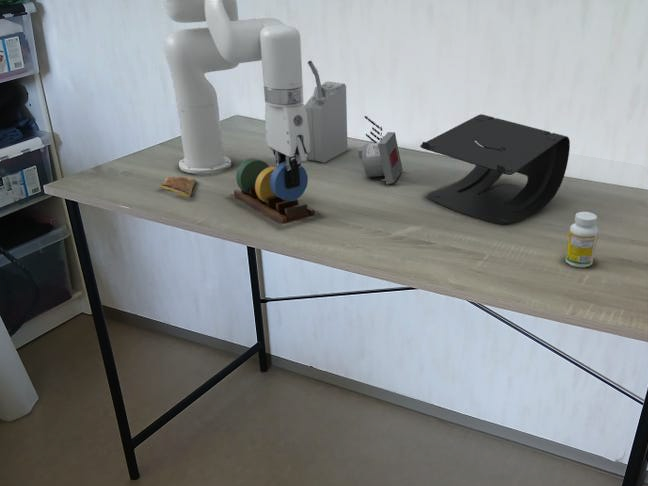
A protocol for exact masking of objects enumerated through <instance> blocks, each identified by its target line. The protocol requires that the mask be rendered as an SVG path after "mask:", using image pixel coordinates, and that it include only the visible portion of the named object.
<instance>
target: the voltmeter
mask: <svg viewBox="0 0 648 486" xmlns="http://www.w3.org/2000/svg"><path fill="white" fill-rule="evenodd" d="M364 119H366V120H367V121H368V122H369V123H371V124H372V125H373V126H372V127H371V130H372V131H374V132H375V133H376V134H377V135H379V136H380V137H379V136H377V135H376V134H375V133H374V132H372V131H370V135H371V136H373V137H374V138H375V139H376V140H378V141H376V140H374V138H372V137H371V136H370V135H368V134H367V133H365V136H366V138H368V139H370V141H371V142H372V143H365V144H363V146H362V147H360V148H359V150H358V151H357V153H358V158H359V159H361V160H362V165H363V169H364V172H365V174H366V176H367V177H368V178H374V177H375V178H377V177H381V176H382V177H383V176H384V179H380V181H381V182H385V185H387V186H388V185H390V184H393V183H395V182H396V180H397V179H398V178H399V176H400V175H401V173H402V172H403V166H402V160H401V155H400V150H399V145H398V141H397V135H396V132H395V131H394V132H393V131H388V132H386V134H385V135H383V133H382V132H383V128H382V126H379V124H377V123H375V121H373V120H372V119H370V118H369V117H368V116H367V115H364ZM374 126H375V127H376V128H377V129H379V130H380V131H381V132H380V131H379V130H377V129H376V128H374Z"/></svg>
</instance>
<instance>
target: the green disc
mask: <svg viewBox="0 0 648 486" xmlns="http://www.w3.org/2000/svg"><path fill="white" fill-rule="evenodd" d="M268 167H270V165H269V164H268V163H267V162H266V161H263V160H261V159H259V158H257V157H251V158H247V159H245V160H244V161H243V162H242V163H240V165H239V166H238V168H237V171H236V175H235V178H236V179H235V180H236V184H237V187H238V188H239V190H240V191H241V190H242V191H244V192H245V193H247V194H249V191H248V188H250V187H254V186H255V183H256V179H257V177H258V175H259V174H260V173H261V172H262V171H263V170H264V169H266V168H268Z"/></svg>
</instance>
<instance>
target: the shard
mask: <svg viewBox="0 0 648 486" xmlns="http://www.w3.org/2000/svg"><path fill="white" fill-rule="evenodd" d="M195 184H196V179H195V178H192V177H187V176H174V177H173V176H168V177H166V178H165V180H164V181H163V182H162V183H161V184H159V188H160V189H163V190H167V191H170V192H172V193H175V194H179V195H181V196H185V197H191V198H192V191H193V189H194V185H195Z"/></svg>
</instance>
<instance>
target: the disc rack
mask: <svg viewBox="0 0 648 486" xmlns="http://www.w3.org/2000/svg"><path fill="white" fill-rule="evenodd" d="M248 191H249V194H247V193H245V192H244V191H242V190H241V189H234V190H233V193H231V194H229V196H230V197H232V198H233V199H235V200H237V201H239V202H240V203H242V204H243V205H245V206H247V207H249V208H251V209H252V210H254V211H256V212H257V213H259V214H261V215H262V216H264V217H266V218H267V219H269V220H271V221H273V222H274V223H275V224H278V225H279V226H281V225H285V224H290V223H293V222H297V221H299V220H304V219H307V218H310V217H314V216H315V217H316V216H319V215H321V213H320V212H318V211H316V209H314V208H313V207H311V206H309V205H308V204H307V203H306V202H301V201H300V200H299V198H298V199H296V200H293V201H285V200H282V199H281V198H279V197H277V196H276V195H275V196H271V197H267V198H266V203H265V202H263V201H262V200H260V199H259V197H258V196H257V194H256V191H255V186H254V187H250V188H248Z"/></svg>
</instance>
